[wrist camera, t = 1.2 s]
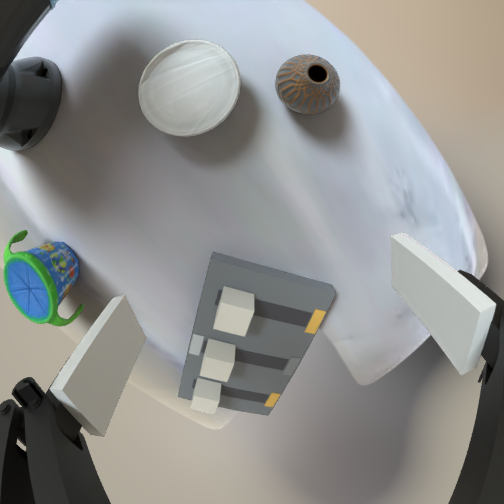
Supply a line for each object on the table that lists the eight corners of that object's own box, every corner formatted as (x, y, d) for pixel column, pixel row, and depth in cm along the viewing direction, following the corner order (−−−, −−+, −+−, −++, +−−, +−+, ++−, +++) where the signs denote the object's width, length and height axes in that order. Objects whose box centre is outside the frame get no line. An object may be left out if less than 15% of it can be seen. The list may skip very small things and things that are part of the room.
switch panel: (180, 387, 47) (177, 397, 44) (213, 251, 37) (210, 259, 34) (267, 406, 48) (268, 416, 46) (331, 284, 39) (336, 293, 36)
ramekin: (194, 38, 27) (185, 23, 22) (262, 87, 29) (264, 77, 24) (136, 104, 30) (118, 99, 25) (200, 155, 32) (191, 157, 27)
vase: (269, 67, 28) (274, 43, 20) (324, 64, 28) (346, 41, 20) (278, 119, 31) (286, 111, 23) (333, 115, 30) (358, 107, 22)
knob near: (216, 311, 37) (213, 328, 33) (223, 285, 36) (220, 302, 32) (245, 318, 37) (244, 336, 34) (254, 294, 36) (254, 311, 32)
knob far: (193, 391, 43) (190, 409, 40) (197, 377, 42) (193, 395, 38) (216, 397, 44) (214, 414, 40) (221, 383, 42) (219, 401, 39)
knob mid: (203, 357, 40) (199, 375, 36) (208, 338, 39) (204, 356, 35) (228, 363, 41) (227, 382, 37) (235, 345, 39) (234, 363, 35)
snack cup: (25, 238, 36) (-14, 261, 26) (55, 204, 34) (11, 223, 25) (73, 311, 41) (44, 346, 31) (109, 287, 39) (78, 325, 29)
